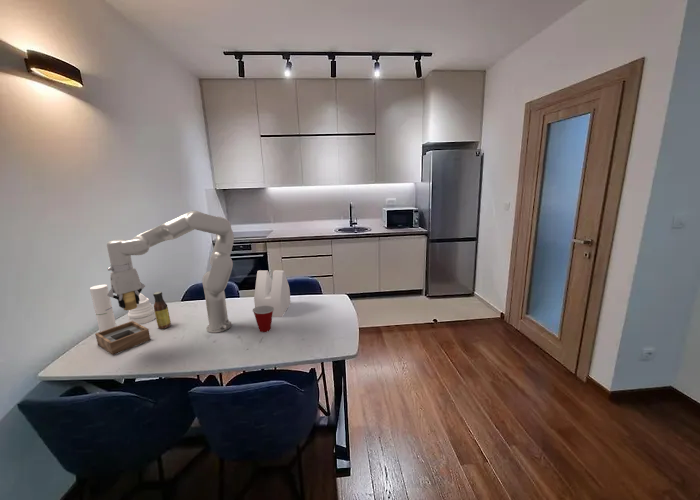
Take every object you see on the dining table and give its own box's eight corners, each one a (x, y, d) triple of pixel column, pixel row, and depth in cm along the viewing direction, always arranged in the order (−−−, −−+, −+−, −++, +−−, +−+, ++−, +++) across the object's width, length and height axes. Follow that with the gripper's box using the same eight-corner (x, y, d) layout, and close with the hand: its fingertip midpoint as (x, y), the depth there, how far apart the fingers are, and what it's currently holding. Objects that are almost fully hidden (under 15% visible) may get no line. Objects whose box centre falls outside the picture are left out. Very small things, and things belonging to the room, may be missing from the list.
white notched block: (267, 303, 192) (263, 266, 186) (290, 303, 191) (287, 266, 185) (256, 317, 173) (251, 275, 168) (282, 317, 172) (278, 275, 167)
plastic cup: (280, 328, 158) (278, 307, 155) (261, 336, 150) (259, 314, 148) (268, 322, 165) (266, 302, 162) (250, 330, 157) (248, 309, 155)
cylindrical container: (119, 328, 164) (110, 285, 159) (104, 334, 158) (94, 289, 152) (112, 326, 167) (102, 283, 162) (97, 332, 161) (86, 288, 155)
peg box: (150, 339, 151) (148, 328, 149) (112, 355, 138) (110, 343, 136) (134, 331, 161) (132, 320, 159) (97, 344, 148) (95, 333, 146)
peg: (139, 307, 138) (136, 290, 137) (126, 311, 134) (123, 294, 132) (134, 305, 141) (131, 289, 139) (121, 309, 137) (118, 292, 135)
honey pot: (124, 322, 171) (117, 293, 167) (146, 313, 183) (140, 285, 179) (139, 326, 166) (132, 295, 162) (160, 316, 178) (155, 288, 174)
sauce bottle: (173, 324, 166) (168, 291, 162) (163, 330, 161) (157, 295, 156) (165, 323, 169) (159, 290, 164) (154, 328, 163) (148, 294, 158)
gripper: (102, 273, 124) (111, 314, 128) (147, 263, 138) (153, 300, 142) (95, 271, 128) (104, 310, 132) (139, 262, 142) (146, 297, 146)
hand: (129, 305), depth 137 cm, fingers closed on peg, 5 cm apart
